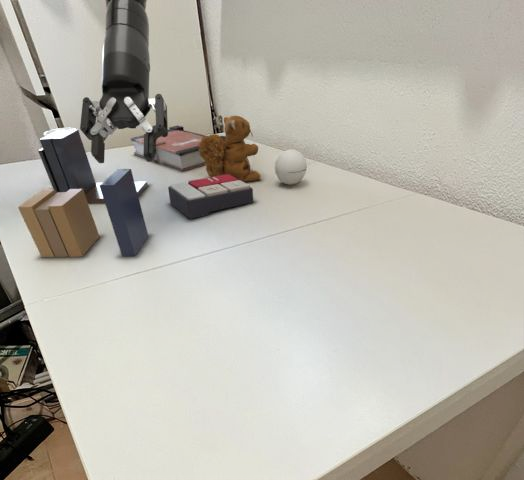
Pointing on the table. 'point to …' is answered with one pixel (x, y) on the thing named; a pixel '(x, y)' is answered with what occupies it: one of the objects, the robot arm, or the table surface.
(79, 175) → the book stand
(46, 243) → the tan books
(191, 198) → the grey and red device
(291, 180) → the seamed sphere
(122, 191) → the navy book
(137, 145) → the book
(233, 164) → the stuffed squirrel
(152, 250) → the table surface
